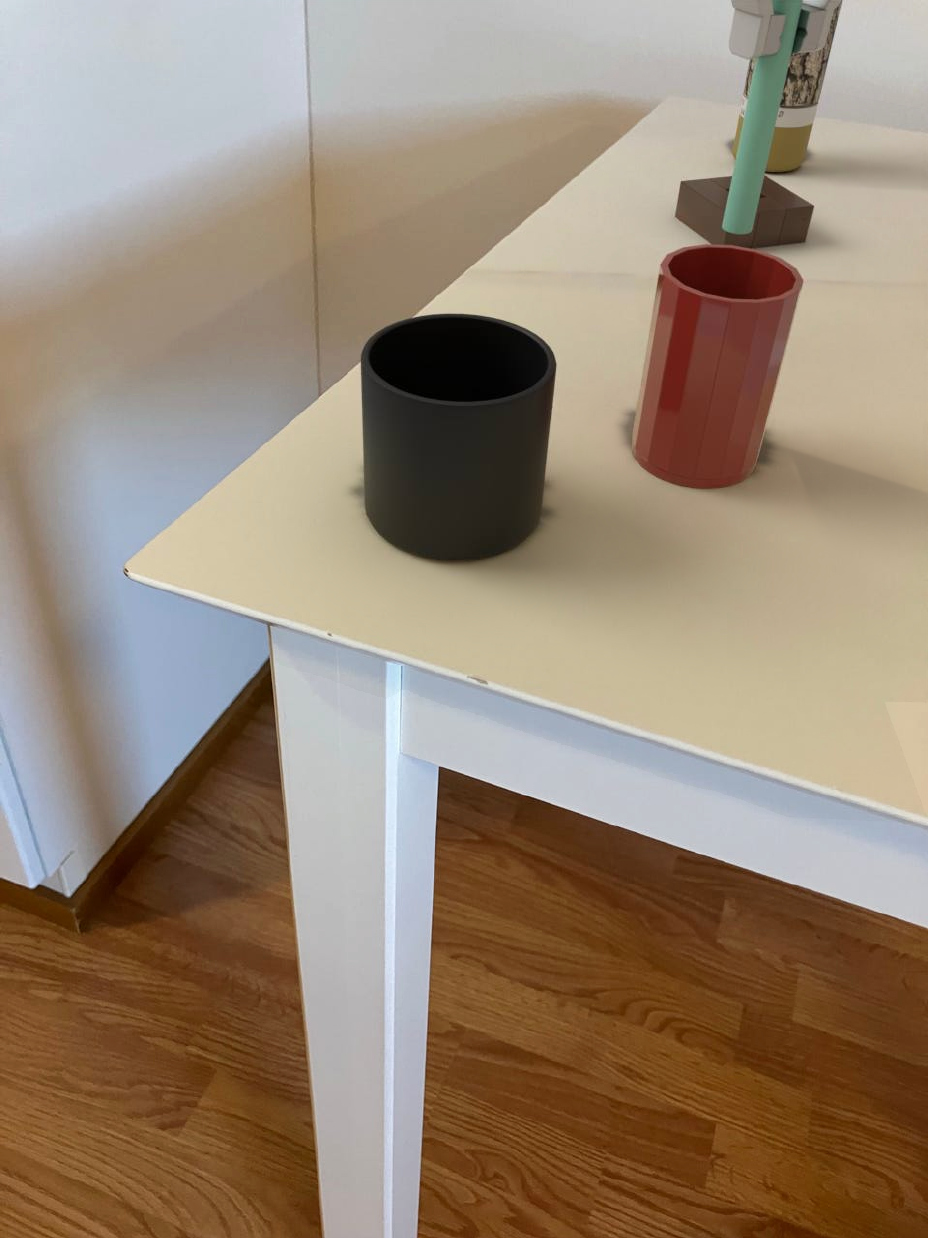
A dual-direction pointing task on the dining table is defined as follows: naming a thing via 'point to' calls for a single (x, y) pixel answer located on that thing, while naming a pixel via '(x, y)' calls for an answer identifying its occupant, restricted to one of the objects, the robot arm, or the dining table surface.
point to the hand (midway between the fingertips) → (775, 52)
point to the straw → (759, 126)
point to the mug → (455, 433)
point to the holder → (775, 217)
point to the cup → (713, 363)
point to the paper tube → (794, 105)
